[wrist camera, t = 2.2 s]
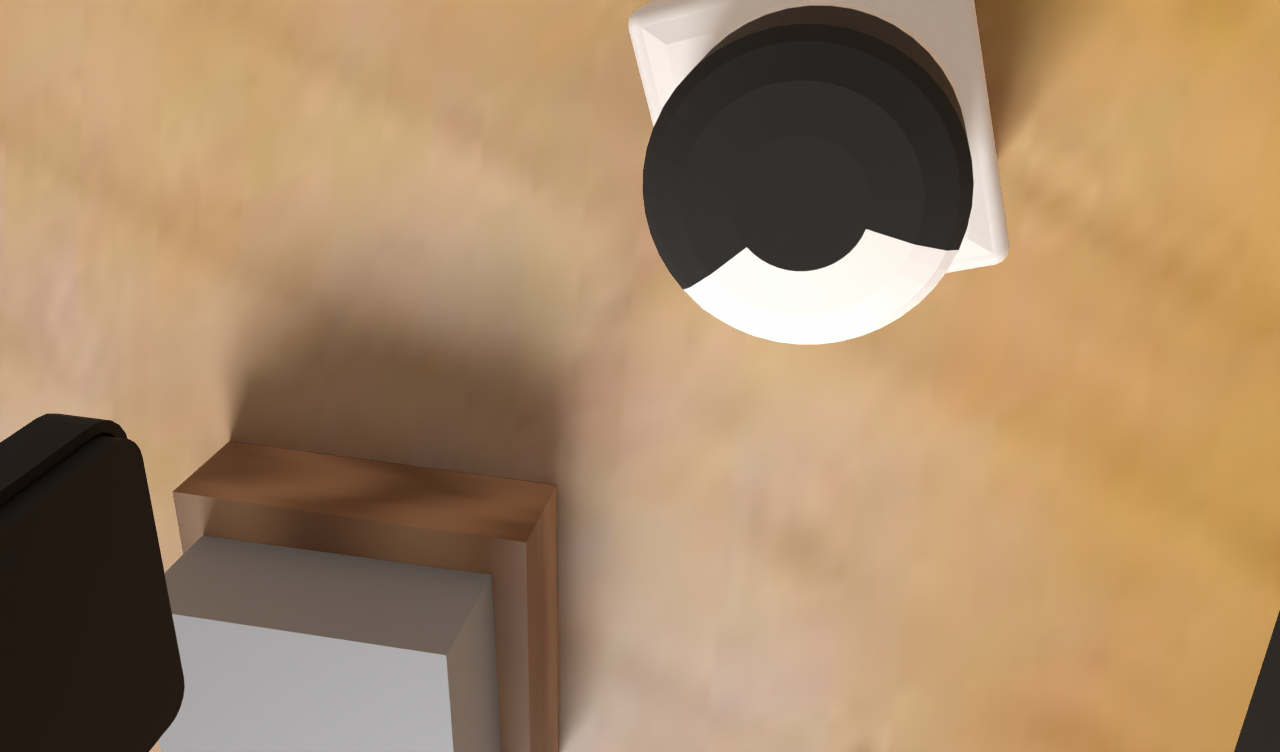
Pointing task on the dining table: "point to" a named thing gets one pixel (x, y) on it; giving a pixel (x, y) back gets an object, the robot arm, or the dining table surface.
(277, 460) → the tower base
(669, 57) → the medicine bottle
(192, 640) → the tower top
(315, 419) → the dining table surface
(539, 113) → the dining table surface
